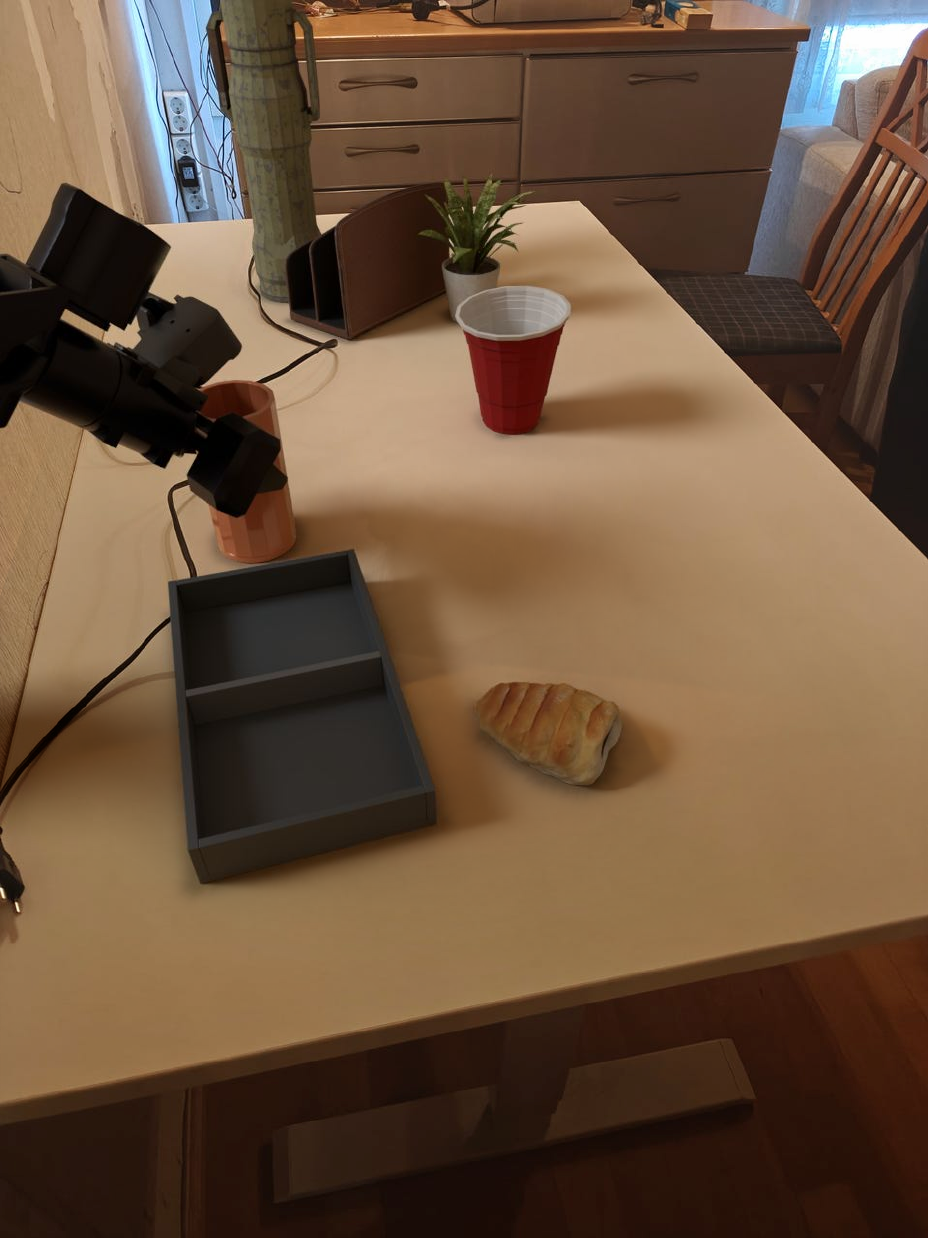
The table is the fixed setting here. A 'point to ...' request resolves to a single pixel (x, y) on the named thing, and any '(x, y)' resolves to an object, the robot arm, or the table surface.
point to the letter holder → (370, 264)
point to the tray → (290, 717)
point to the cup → (269, 513)
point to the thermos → (270, 125)
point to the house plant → (472, 241)
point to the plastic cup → (512, 351)
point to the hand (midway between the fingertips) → (259, 466)
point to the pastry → (552, 727)
